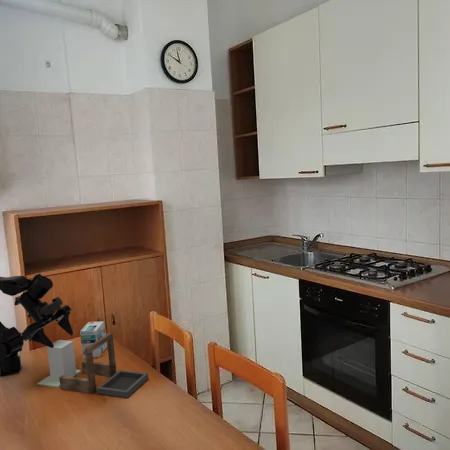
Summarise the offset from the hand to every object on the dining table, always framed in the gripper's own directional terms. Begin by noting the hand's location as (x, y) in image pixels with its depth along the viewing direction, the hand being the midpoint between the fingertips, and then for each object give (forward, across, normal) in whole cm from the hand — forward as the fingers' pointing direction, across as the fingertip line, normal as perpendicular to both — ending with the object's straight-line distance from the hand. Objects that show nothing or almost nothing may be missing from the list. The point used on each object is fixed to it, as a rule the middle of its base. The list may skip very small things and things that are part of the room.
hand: (63, 340), depth 155 cm
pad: (+8, -2, +10) cm, 13 cm away
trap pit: (+25, -1, -9) cm, 27 cm away
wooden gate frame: (+16, -2, +1) cm, 16 cm away
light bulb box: (+9, +19, +14) cm, 25 cm away
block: (+9, -2, +8) cm, 13 cm away
